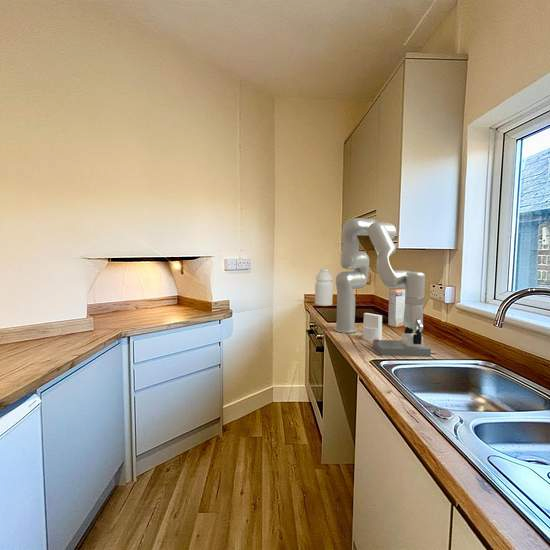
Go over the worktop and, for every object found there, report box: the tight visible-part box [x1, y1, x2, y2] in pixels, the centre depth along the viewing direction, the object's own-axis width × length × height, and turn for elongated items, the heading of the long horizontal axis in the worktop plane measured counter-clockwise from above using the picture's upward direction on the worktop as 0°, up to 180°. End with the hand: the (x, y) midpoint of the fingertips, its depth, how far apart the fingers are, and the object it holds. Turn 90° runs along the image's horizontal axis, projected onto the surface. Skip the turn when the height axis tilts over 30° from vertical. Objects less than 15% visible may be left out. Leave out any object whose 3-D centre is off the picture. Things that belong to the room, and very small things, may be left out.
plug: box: [401, 332, 424, 347], centre depth 144 cm, size 6×6×6 cm
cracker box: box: [387, 288, 405, 329], centre depth 193 cm, size 14×6×21 cm, turn 115°
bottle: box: [314, 268, 334, 307], centre depth 264 cm, size 14×14×28 cm
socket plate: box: [372, 339, 432, 357], centre depth 145 cm, size 13×20×4 cm, turn 89°
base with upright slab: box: [362, 312, 383, 342], centre depth 164 cm, size 9×9×12 cm
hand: (412, 340), depth 144 cm, fingers open, 9 cm apart
